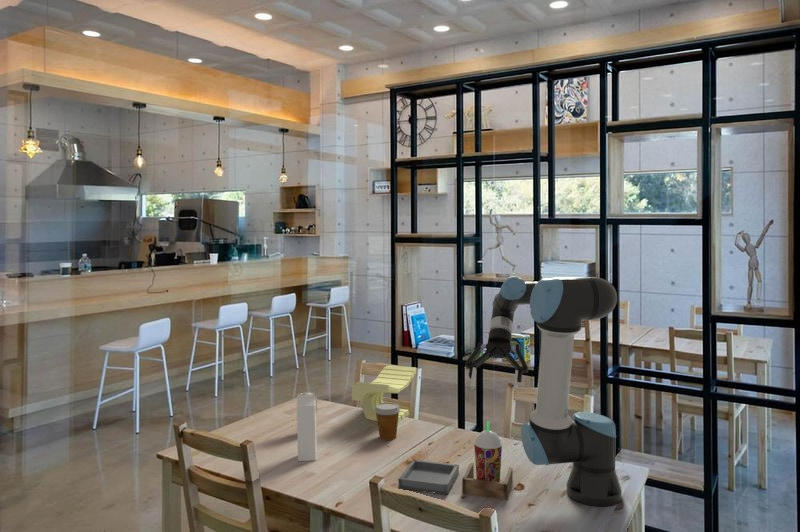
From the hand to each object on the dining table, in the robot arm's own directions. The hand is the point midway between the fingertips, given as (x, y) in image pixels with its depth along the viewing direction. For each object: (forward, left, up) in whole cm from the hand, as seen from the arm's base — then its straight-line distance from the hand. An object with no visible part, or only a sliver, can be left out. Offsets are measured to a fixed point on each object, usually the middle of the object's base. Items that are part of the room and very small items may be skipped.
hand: (493, 388), depth 181 cm
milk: (+63, +6, -27) cm, 69 cm away
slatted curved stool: (+52, -43, -27) cm, 73 cm away
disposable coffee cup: (+43, -20, -27) cm, 55 cm away
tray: (+18, +12, -27) cm, 35 cm away
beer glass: (+74, -16, -27) cm, 80 cm away
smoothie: (0, +11, -27) cm, 29 cm away
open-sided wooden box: (0, +11, -27) cm, 29 cm away
